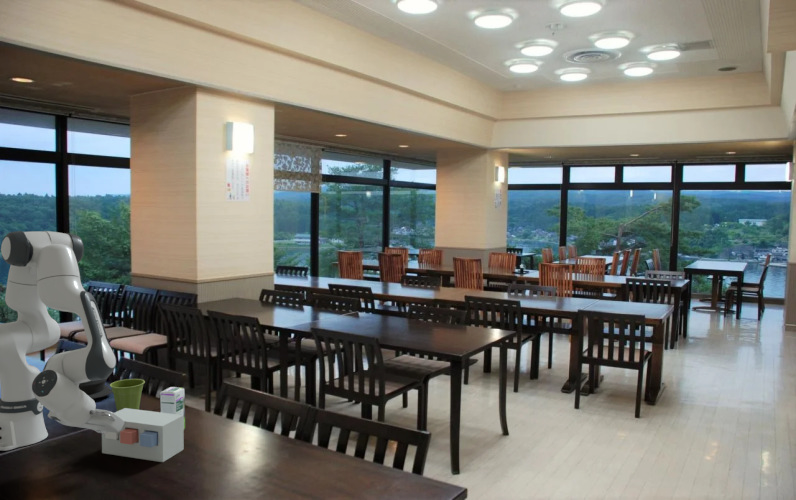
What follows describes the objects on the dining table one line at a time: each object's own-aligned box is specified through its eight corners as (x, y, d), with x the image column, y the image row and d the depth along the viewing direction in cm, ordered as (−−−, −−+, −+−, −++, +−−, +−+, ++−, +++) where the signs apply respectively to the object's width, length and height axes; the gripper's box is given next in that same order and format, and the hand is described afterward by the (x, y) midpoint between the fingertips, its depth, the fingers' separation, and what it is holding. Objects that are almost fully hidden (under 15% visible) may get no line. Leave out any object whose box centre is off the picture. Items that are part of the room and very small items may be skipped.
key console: (102, 453, 180) (101, 418, 179) (125, 441, 190) (124, 407, 189) (162, 462, 174) (162, 426, 173) (183, 449, 184) (183, 415, 183)
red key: (120, 442, 175) (120, 431, 175) (127, 439, 178) (127, 428, 178) (131, 444, 174) (131, 433, 174) (138, 440, 177) (138, 429, 176)
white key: (105, 438, 178) (105, 426, 178) (112, 434, 181) (112, 423, 181) (116, 439, 177) (116, 428, 177) (123, 436, 180) (123, 425, 180)
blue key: (140, 445, 173) (139, 434, 173) (146, 442, 176) (146, 430, 176) (151, 447, 172) (151, 435, 172) (158, 443, 175) (158, 432, 175)
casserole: (41, 397, 232) (41, 376, 231) (83, 385, 249) (83, 366, 248) (84, 407, 221) (83, 385, 221) (125, 394, 238) (125, 373, 238)
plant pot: (150, 407, 222) (150, 378, 222) (137, 418, 210) (137, 387, 210) (119, 407, 222) (118, 378, 221) (104, 418, 210) (103, 387, 209)
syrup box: (176, 434, 196) (175, 392, 195) (160, 433, 197) (160, 391, 196) (185, 428, 201) (185, 387, 200) (170, 427, 202) (169, 386, 202)
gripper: (113, 403, 164) (137, 425, 174) (55, 395, 170) (81, 417, 180) (102, 424, 160) (127, 445, 170) (42, 415, 166) (70, 436, 176)
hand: (103, 431), depth 175 cm, fingers closed
